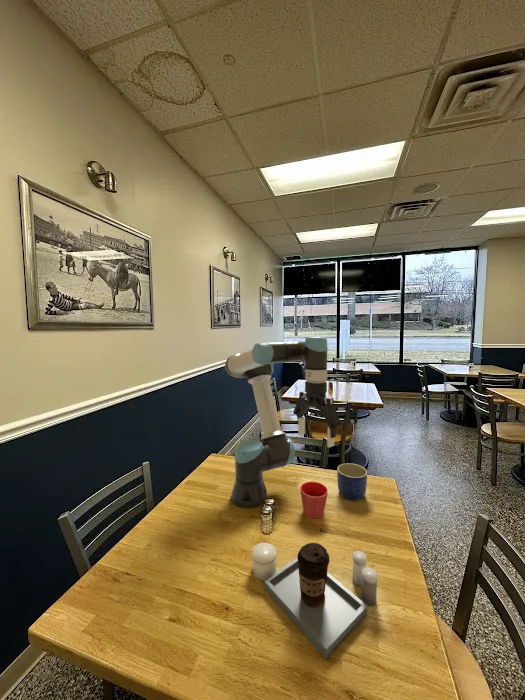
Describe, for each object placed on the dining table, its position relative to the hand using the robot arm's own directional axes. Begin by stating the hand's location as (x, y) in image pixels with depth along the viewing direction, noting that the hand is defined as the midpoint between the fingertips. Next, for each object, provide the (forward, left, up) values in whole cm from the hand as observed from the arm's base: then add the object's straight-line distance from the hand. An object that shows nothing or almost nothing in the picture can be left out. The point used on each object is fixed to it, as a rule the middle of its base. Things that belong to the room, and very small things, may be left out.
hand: (315, 440), depth 103 cm
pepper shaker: (+28, -10, -33) cm, 44 cm away
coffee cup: (+19, -22, -32) cm, 43 cm away
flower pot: (-6, +6, -33) cm, 34 cm away
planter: (-4, +28, -33) cm, 43 cm away
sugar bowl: (+3, -26, -33) cm, 42 cm away
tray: (+19, -22, -33) cm, 44 cm away
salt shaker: (+23, -7, -33) cm, 41 cm away
